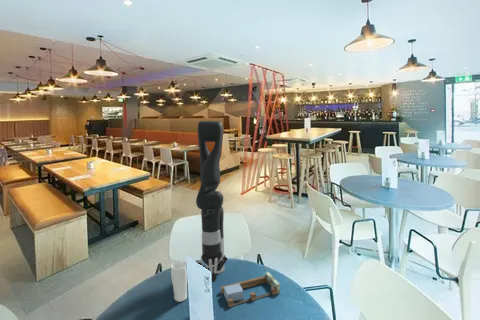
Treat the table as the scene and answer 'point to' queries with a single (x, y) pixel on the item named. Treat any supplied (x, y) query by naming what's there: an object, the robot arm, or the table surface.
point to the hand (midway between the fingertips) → (212, 281)
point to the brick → (233, 292)
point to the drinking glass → (179, 280)
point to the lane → (252, 282)
